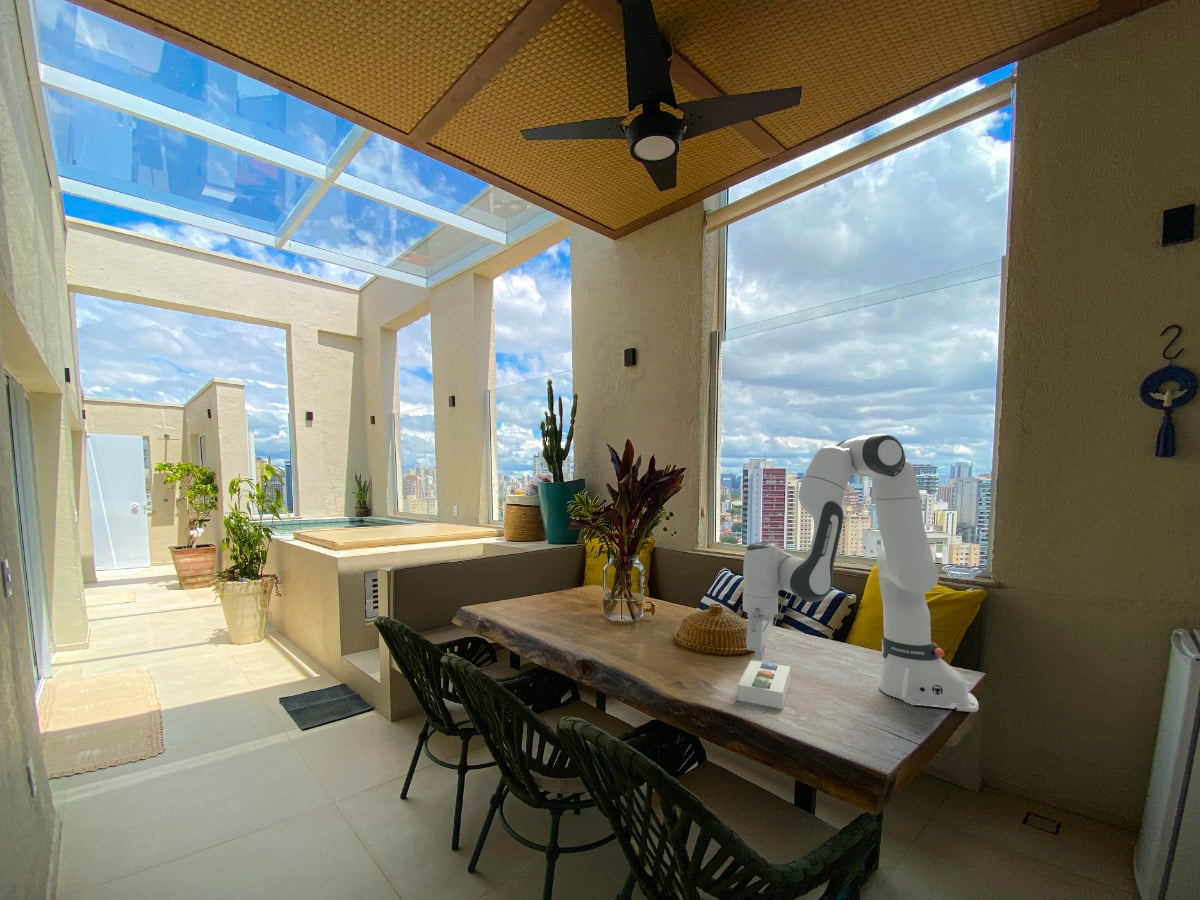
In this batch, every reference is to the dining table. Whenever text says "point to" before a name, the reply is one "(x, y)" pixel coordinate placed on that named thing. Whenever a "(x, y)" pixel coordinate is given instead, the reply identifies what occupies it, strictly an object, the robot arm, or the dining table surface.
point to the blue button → (769, 666)
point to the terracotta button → (765, 674)
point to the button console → (762, 695)
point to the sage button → (761, 682)
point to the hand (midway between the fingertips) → (759, 658)
